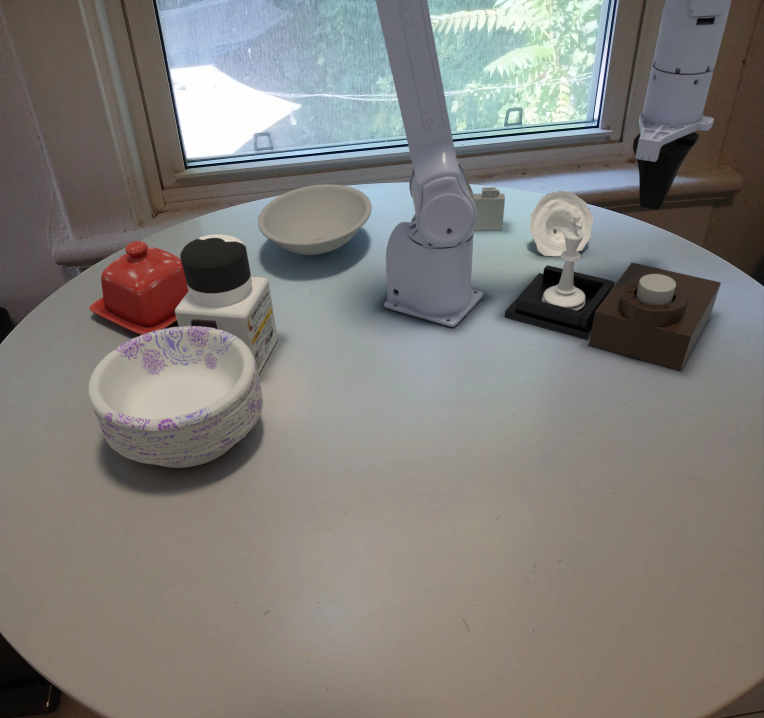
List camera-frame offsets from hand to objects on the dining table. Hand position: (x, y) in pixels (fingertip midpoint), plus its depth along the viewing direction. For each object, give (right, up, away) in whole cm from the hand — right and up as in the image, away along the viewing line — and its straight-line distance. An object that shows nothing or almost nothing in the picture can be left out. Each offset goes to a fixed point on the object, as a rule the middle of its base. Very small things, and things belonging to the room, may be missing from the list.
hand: (650, 206), depth 80 cm
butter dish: (-57, -9, +9) cm, 58 cm away
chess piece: (-8, -9, +5) cm, 13 cm away
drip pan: (-8, -9, +6) cm, 14 cm away
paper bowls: (-48, -26, -8) cm, 55 cm away
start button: (-1, -11, -4) cm, 12 cm away
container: (-46, -16, +2) cm, 49 cm away
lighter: (-16, +6, +21) cm, 27 cm away
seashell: (-6, +1, +16) cm, 17 cm away
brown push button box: (+1, -13, +2) cm, 13 cm away
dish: (-38, +2, +18) cm, 42 cm away
